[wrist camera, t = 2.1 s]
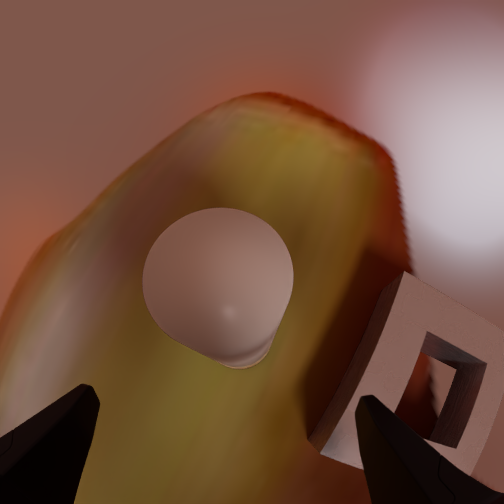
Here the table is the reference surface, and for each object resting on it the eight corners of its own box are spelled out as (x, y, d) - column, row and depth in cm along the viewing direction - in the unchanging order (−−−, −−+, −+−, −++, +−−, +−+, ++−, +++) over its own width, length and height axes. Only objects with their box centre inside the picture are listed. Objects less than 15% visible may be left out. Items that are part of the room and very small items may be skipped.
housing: (433, 481, 14) (461, 492, 10) (307, 440, 16) (319, 453, 13) (486, 348, 18) (515, 339, 14) (381, 290, 21) (404, 271, 17)
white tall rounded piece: (250, 380, 18) (242, 384, 7) (194, 347, 19) (113, 297, 8) (283, 325, 20) (320, 246, 8) (228, 295, 21) (196, 186, 10)
